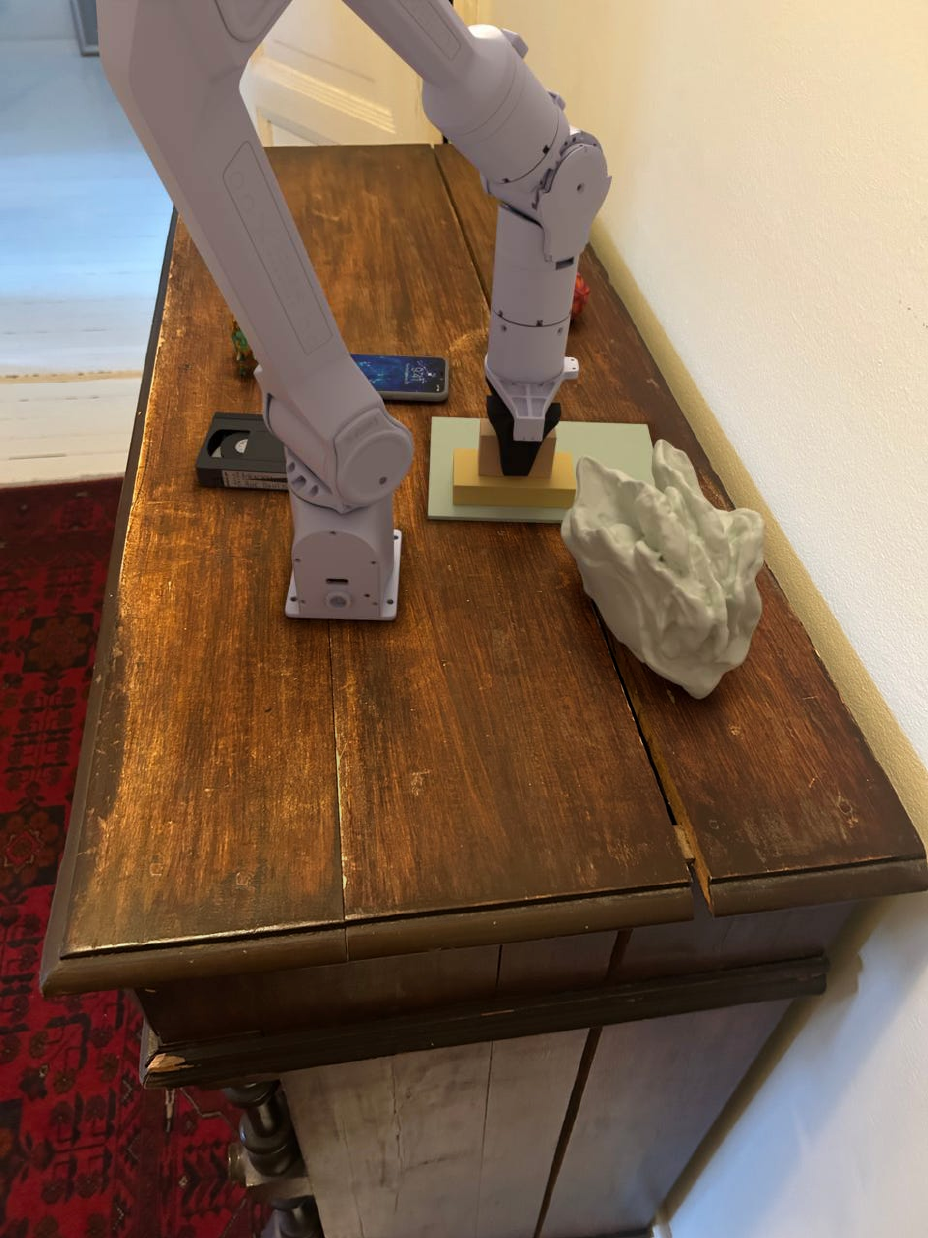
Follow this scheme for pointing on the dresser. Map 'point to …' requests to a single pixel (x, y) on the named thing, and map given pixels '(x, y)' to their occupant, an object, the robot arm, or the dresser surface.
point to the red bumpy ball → (579, 297)
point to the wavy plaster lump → (668, 567)
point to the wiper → (488, 486)
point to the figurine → (240, 344)
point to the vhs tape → (241, 454)
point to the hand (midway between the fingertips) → (514, 462)
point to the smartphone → (406, 376)
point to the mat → (598, 440)
